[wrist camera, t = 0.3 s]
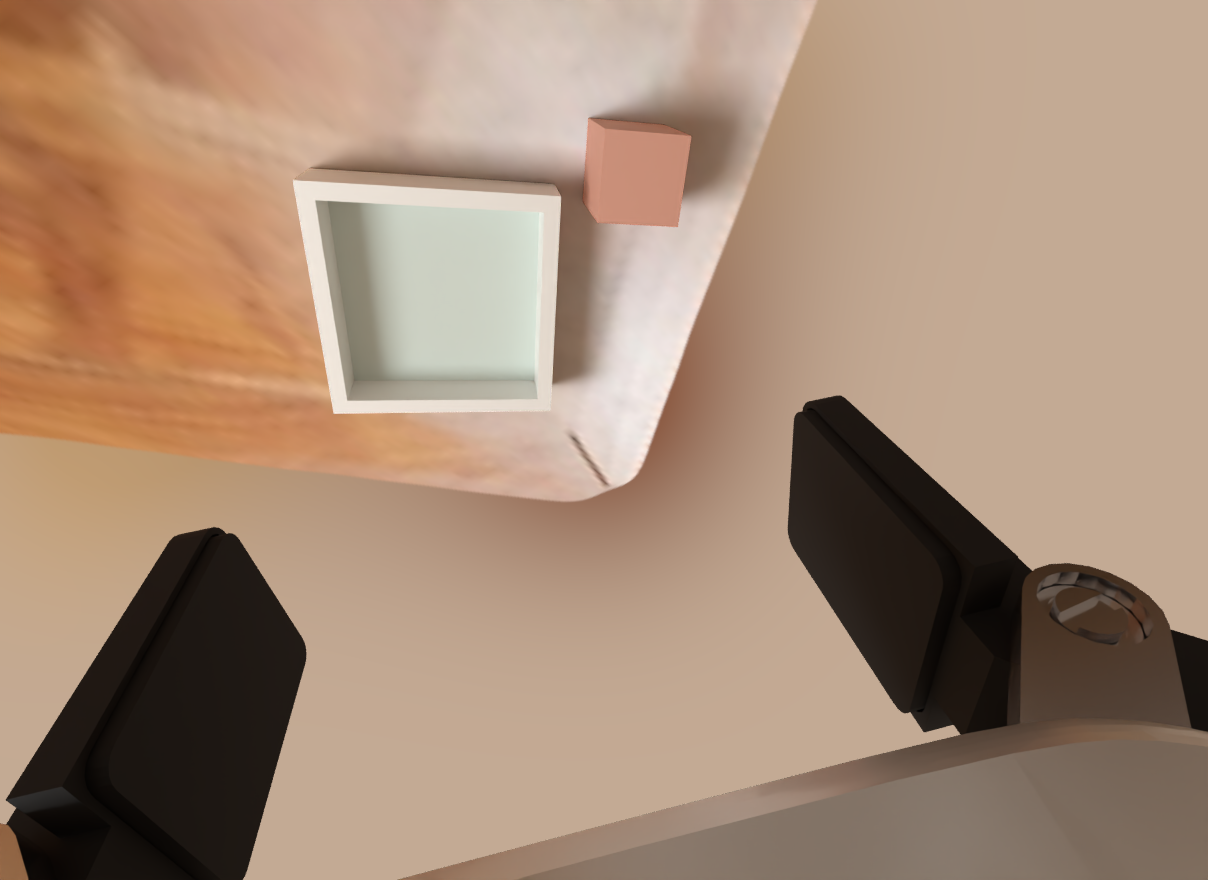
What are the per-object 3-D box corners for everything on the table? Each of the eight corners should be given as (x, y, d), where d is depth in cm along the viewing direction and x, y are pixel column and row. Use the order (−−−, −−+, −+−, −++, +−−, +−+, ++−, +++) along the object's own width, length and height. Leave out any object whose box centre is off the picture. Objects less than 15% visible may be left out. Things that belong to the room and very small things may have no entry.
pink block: (588, 118, 38) (605, 128, 33) (663, 124, 39) (691, 135, 34) (582, 201, 40) (597, 222, 35) (653, 205, 41) (677, 227, 36)
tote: (309, 168, 36) (292, 180, 33) (553, 184, 39) (561, 196, 36) (344, 386, 44) (333, 413, 41) (545, 385, 47) (550, 410, 44)
